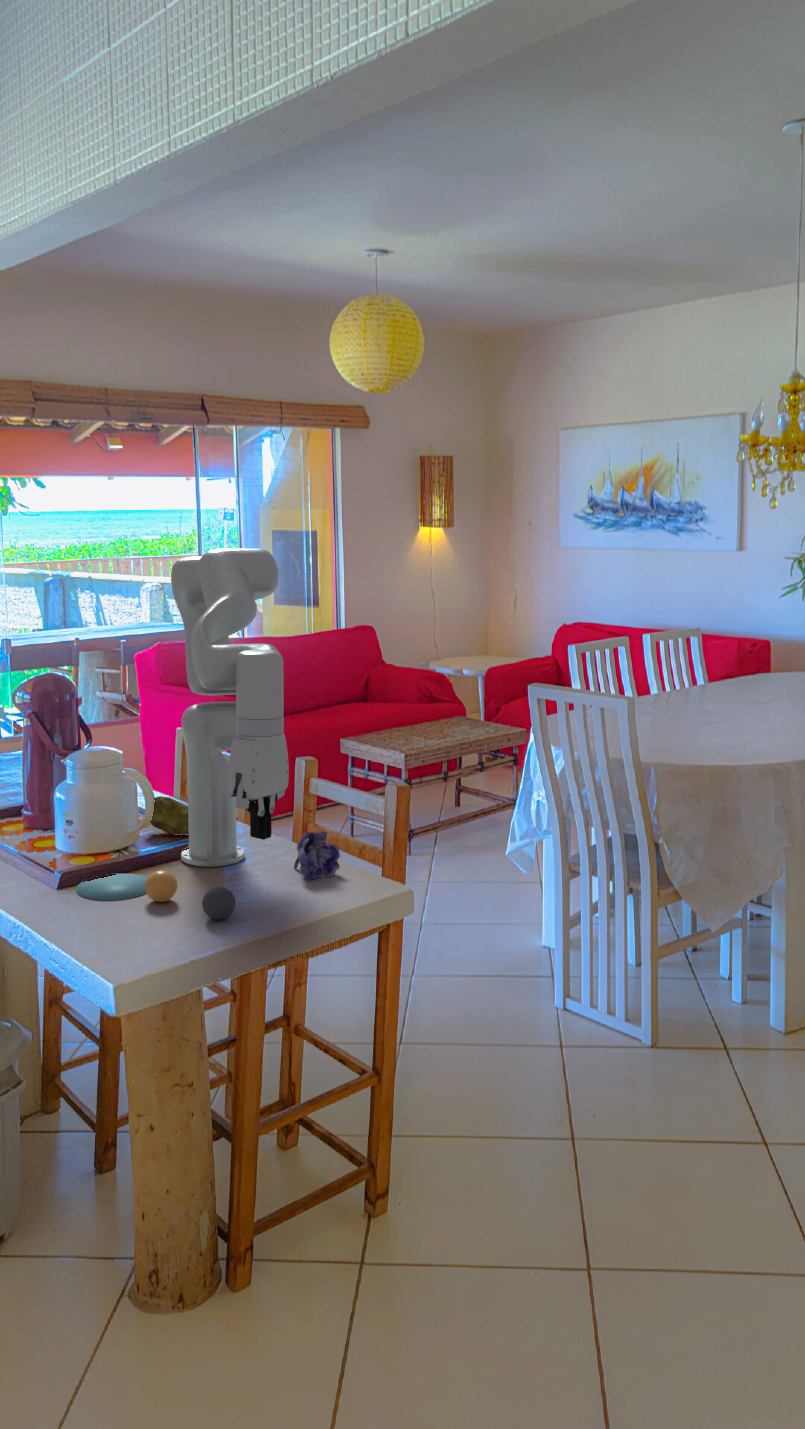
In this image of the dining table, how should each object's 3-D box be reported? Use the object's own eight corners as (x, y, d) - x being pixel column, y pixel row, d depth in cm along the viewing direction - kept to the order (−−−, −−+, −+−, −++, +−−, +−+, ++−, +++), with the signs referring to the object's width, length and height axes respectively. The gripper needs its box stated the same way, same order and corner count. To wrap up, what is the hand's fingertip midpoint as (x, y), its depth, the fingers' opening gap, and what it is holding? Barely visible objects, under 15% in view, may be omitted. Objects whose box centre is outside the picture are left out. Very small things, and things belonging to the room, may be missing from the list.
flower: (271, 839, 206) (314, 823, 202) (297, 847, 213) (338, 831, 209) (278, 885, 202) (321, 870, 199) (304, 891, 210) (346, 876, 206)
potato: (192, 842, 225) (191, 805, 223) (138, 835, 229) (137, 799, 227) (211, 831, 233) (210, 796, 231) (159, 825, 237) (158, 790, 235)
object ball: (150, 894, 194) (150, 865, 193) (181, 896, 193) (180, 866, 192) (141, 905, 188) (140, 875, 187) (172, 907, 188) (171, 876, 187)
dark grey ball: (207, 911, 186) (206, 881, 185) (238, 913, 186) (238, 882, 185) (198, 923, 181) (198, 892, 180) (231, 925, 180) (231, 893, 179)
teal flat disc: (92, 873, 205) (92, 872, 205) (163, 876, 204) (163, 875, 204) (64, 898, 191) (64, 897, 191) (141, 902, 190) (141, 901, 190)
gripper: (272, 717, 180) (273, 823, 183) (210, 731, 167) (211, 843, 171) (307, 723, 176) (307, 830, 179) (245, 737, 163) (247, 852, 167)
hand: (260, 836), depth 175 cm, fingers closed
